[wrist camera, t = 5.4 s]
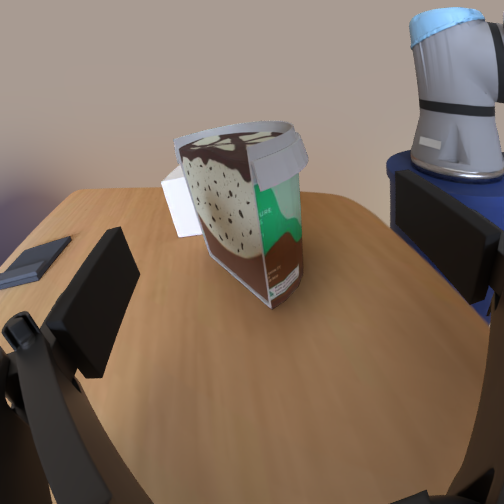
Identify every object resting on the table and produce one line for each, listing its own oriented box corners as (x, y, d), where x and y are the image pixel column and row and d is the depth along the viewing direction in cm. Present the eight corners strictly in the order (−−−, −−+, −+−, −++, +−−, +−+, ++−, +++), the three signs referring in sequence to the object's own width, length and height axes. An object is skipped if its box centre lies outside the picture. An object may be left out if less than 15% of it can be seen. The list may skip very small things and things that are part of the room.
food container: (358, 275, 20) (349, 122, 15) (286, 321, 18) (253, 147, 13) (260, 223, 30) (239, 119, 25) (202, 249, 27) (171, 139, 22)
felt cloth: (71, 239, 38) (68, 232, 37) (38, 280, 29) (34, 272, 29) (25, 253, 38) (23, 247, 38) (-8, 291, 30) (-12, 284, 29)
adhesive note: (194, 212, 36) (180, 164, 33) (244, 205, 35) (233, 153, 32) (178, 237, 31) (160, 181, 28) (236, 230, 30) (221, 169, 27)
